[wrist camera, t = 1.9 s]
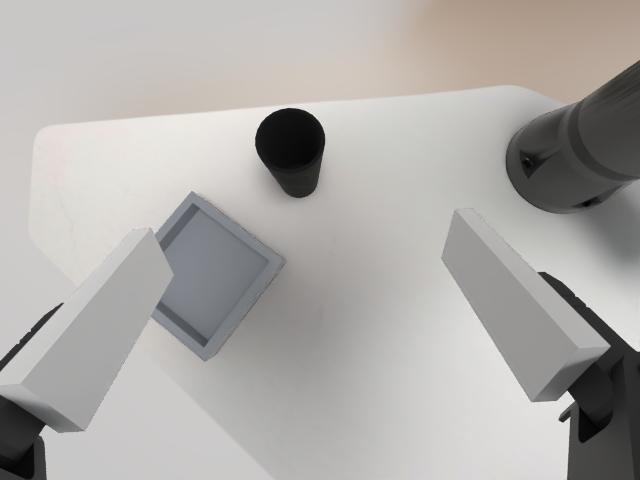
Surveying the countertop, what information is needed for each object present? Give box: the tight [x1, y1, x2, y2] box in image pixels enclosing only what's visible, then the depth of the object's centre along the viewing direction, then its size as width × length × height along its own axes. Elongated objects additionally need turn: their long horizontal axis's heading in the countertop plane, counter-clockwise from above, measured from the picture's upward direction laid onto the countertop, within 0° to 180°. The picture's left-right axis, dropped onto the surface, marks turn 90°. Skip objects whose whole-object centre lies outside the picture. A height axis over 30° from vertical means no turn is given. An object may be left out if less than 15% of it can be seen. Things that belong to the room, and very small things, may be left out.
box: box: [151, 191, 286, 361], centre depth 38 cm, size 16×16×4 cm
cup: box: [255, 108, 325, 198], centre depth 36 cm, size 8×8×12 cm
